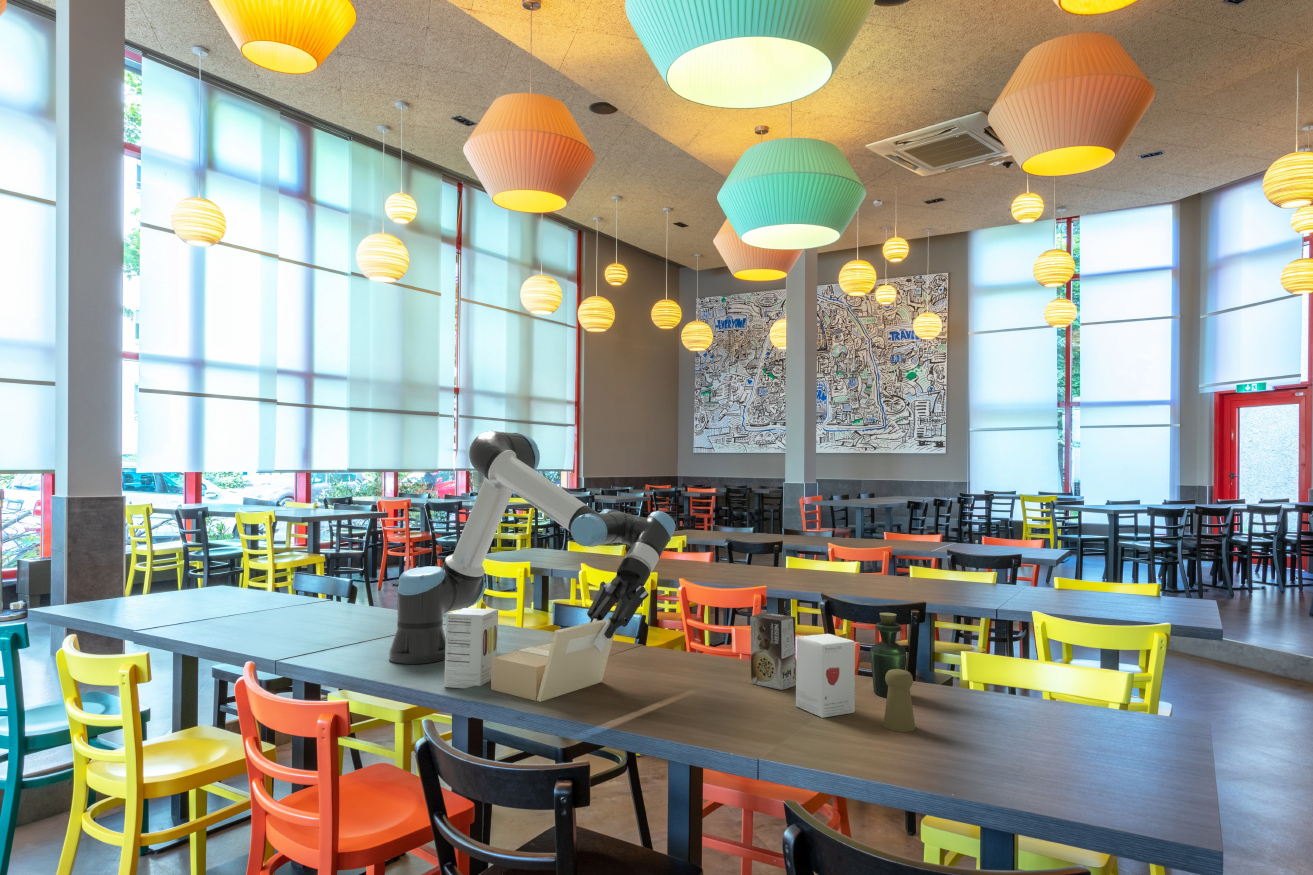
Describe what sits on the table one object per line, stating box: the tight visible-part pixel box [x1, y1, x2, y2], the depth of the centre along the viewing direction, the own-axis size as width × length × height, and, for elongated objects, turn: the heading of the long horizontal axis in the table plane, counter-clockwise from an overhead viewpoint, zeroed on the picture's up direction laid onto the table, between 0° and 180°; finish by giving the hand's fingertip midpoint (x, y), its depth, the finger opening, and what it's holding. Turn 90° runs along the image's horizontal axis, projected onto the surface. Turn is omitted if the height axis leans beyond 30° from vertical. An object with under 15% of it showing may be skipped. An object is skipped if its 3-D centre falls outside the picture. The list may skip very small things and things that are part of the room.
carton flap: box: [537, 618, 616, 703], centre depth 168 cm, size 1×20×16 cm, turn 143°
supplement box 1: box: [443, 607, 499, 689], centre depth 178 cm, size 10×9×17 cm
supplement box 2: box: [795, 633, 856, 719], centre depth 161 cm, size 9×9×15 cm
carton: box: [490, 642, 552, 702], centre depth 174 cm, size 14×20×8 cm
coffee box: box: [750, 612, 797, 691], centre depth 180 cm, size 9×6×16 cm
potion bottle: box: [869, 612, 908, 698], centre depth 173 cm, size 8×8×18 cm
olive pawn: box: [883, 669, 916, 733], centre depth 150 cm, size 6×6×11 cm
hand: (590, 646), depth 169 cm, fingers closed on carton flap, 3 cm apart
